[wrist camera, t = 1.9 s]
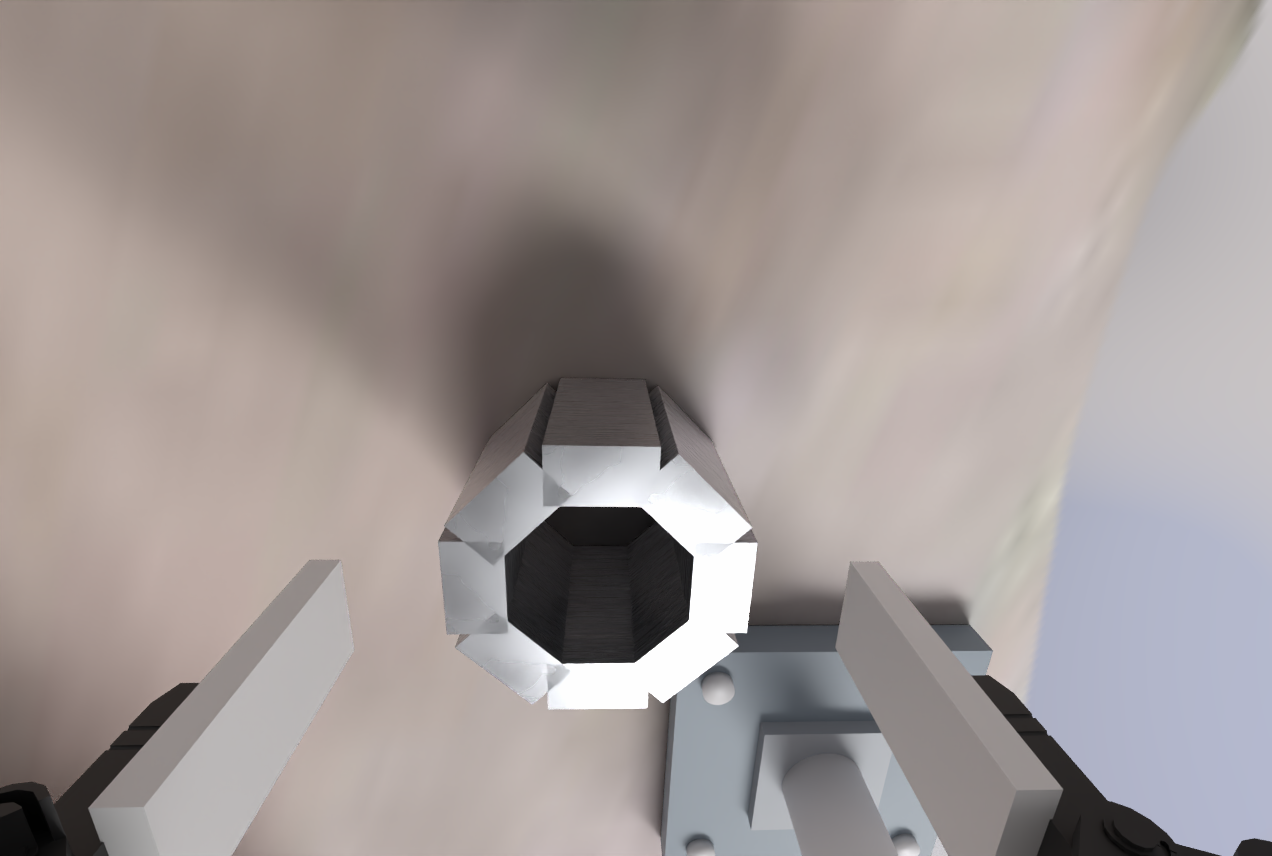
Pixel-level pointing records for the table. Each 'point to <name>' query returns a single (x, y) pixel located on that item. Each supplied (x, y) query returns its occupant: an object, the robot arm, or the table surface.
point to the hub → (597, 551)
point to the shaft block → (790, 754)
